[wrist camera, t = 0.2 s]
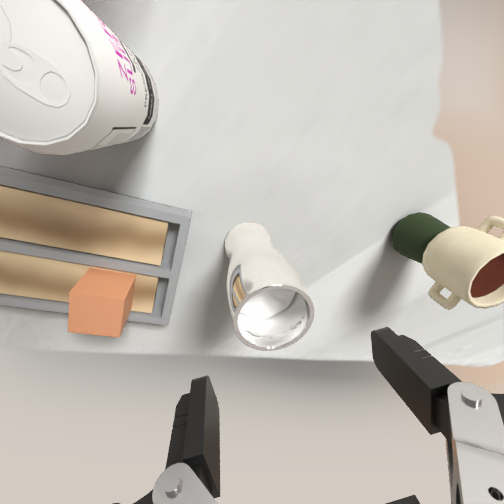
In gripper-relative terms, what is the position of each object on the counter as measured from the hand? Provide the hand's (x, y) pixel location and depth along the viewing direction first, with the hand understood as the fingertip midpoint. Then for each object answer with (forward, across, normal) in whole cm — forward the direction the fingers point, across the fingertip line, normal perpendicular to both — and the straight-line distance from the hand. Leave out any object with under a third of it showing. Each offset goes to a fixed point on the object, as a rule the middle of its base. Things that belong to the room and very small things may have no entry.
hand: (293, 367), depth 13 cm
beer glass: (+23, 0, 0) cm, 23 cm away
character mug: (+24, -23, +5) cm, 33 cm away
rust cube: (+21, +17, +1) cm, 27 cm away
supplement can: (+20, +9, -18) cm, 29 cm away
